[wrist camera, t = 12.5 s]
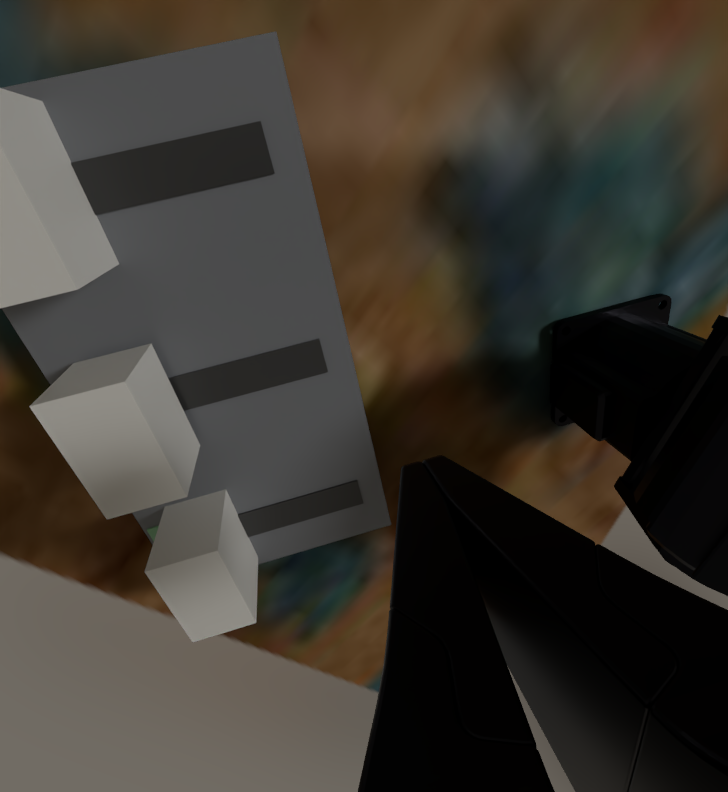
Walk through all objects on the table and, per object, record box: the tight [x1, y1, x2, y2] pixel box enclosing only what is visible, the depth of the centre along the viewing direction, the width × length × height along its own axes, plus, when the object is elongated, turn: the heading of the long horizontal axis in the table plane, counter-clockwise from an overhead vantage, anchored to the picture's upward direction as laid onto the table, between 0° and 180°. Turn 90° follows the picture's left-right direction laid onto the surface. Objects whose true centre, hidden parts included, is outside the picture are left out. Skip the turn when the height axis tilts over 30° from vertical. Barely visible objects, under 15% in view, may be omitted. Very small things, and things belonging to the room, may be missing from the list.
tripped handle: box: [29, 344, 200, 520], centre depth 16 cm, size 3×5×4 cm, turn 12°
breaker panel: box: [0, 32, 391, 642], centre depth 18 cm, size 12×22×6 cm, turn 12°
